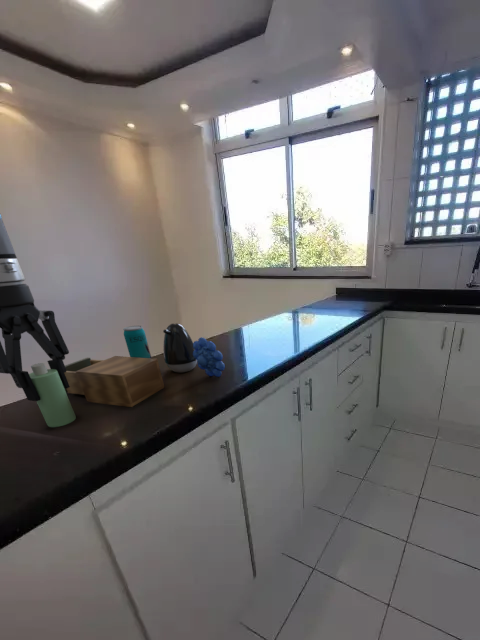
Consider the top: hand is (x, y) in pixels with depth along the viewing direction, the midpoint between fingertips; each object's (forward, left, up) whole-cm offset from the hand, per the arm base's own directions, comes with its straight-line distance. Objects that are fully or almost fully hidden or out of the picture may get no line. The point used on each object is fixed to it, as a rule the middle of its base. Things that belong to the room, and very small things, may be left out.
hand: (49, 393), depth 69 cm
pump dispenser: (+8, +36, -7) cm, 38 cm away
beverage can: (-2, +30, -7) cm, 31 cm away
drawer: (-9, +16, -6) cm, 19 cm away
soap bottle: (0, 0, -7) cm, 7 cm away
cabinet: (+4, +16, -7) cm, 18 cm away
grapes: (+20, +32, -7) cm, 38 cm away
